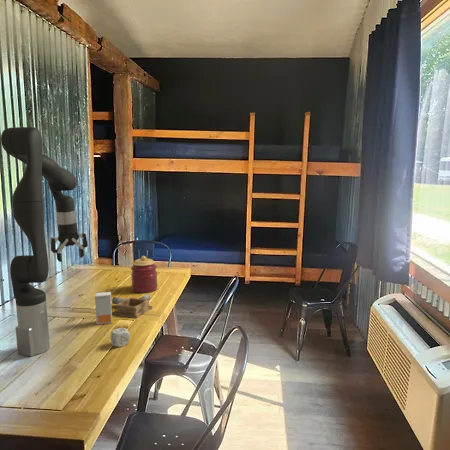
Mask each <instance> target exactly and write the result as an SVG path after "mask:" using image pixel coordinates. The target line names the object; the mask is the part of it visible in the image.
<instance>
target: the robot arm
mask: <svg viewBox="0 0 450 450" xmlns="http://www.w3.org/2000/svg"><path fill="white" fill-rule="evenodd" d="M0 143H1V147H2V148H3V150H4V151H5V152H6V154H8V155H10V156H12V157H13V158H15V159H16V160H19V161H20V162H22V163H23V164H25V169H24V173H23V175H22V177H21V178H20V180H19V182H18V184H17V186H15V189H14V191H13V193H12V197H11V198H12V199H11V200H12V202H11V204H12V216H13V219H14V220H15V221H14V222H16V224H17V225H18V227H19V228H20V229H21V231H23V234H24V235H25V236H26V237H27V239H28V241H29V244H30V246H31V251H32V252H31V253H32V254H31V255H27V254H26V255H16V256H14V257H13V258H12V259H11V261H10V265H9V266H10V267H9V274H10V282H11V286H12V294H13V295H12V296H13V297H14V300H15V308H16V319H17V320H16V321H17V326H15V336H16V337H15V338H16V339H15V340H16V346H17V348H16V349H17V354H18V355H23V356H27V357H33V356H36V355H39V354H42V353H45V352H47V351H48V350H49V349H50V347H51V342H50V332H49V319H48V308H47V307H48V306H47V297H46V296H47V294H46V292H45V291H44V290H42V289H39V288H37V287H34V286H33V285H32V284H34V283H35V284H36V283H37V284H39V283H44V282H46V281H47V279H48V277H49V271H50V268H49V267H50V266H49V265H50V264H49V257H48V249H47V242H46V233H45V203H44V194H43V178H44V179H45V180H47V184H48V185H47V186H48V188H49V189H50V192H51V195H52V197H53V200H54V202H55V203H54V204H55V211H56V215H55V217H56V218H55V219H56V224H57V225H56V226H57V234H58V235H57V237H50V251H51V252H52V254H56V260H57V261H58V262H59V263H61V262H63V261H62V253H61V252H62V251H63V249H64V248H65V247H66V248H67V247H69V246H70V247H71V246H75V245H76V246H77V247H78V254H79V258H80V259H82V258H84V256H85V254H84V251H85V250H84V249H85V248H87V247H88V246H89V245H88V239H87V234H86V233H85V232H81V233H79V232H78V221H77V214H76V209H75V201H74V198H73V197H72V196H69V195H66V194H64V193H63V192H62V191H64V192H66V191H67V192H69V191H73V190H75V188H76V187H77V183H78V180H77V178H76V176H75V175H74V173H72V172H71V171H70V170H67V169H65V168H64V167H61V166H60V165H59V164H58V163H57V162H56V161H55V159H53V158H52V157H50V156H48V155H45V154H44V151H43V150H44V149H43V148H44V146H43V145H44V144H43V137H42V134H41V131H40V130H39V129H38V128H37V127H35V126H26V127H24V126H21V127H18V126H16V127H15V126H14V127H13V126H12V127H7V128H5V129H3V131H2V132H1V135H0ZM79 238H81V240H82V244H81V243H80V242H79V241H78V240H79ZM57 241H59V244H58V246H57V248H56V244H57Z"/></svg>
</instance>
